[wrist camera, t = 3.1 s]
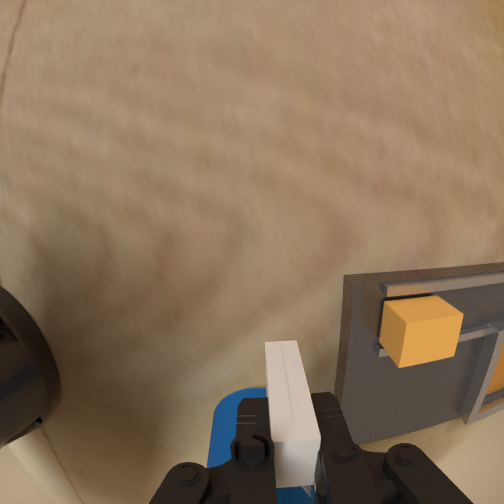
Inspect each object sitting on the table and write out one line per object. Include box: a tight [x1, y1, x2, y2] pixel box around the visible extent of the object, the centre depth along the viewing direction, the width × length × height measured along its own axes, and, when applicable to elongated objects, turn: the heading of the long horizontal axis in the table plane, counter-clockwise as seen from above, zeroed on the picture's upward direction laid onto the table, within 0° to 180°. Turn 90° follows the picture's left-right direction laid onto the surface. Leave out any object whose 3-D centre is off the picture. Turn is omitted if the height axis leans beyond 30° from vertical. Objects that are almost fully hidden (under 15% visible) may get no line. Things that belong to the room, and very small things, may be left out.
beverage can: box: [207, 387, 315, 504], centre depth 16 cm, size 6×6×12 cm
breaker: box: [379, 295, 464, 368], centre depth 17 cm, size 4×3×3 cm
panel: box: [334, 262, 504, 444], centre depth 20 cm, size 22×14×4 cm, turn 92°
